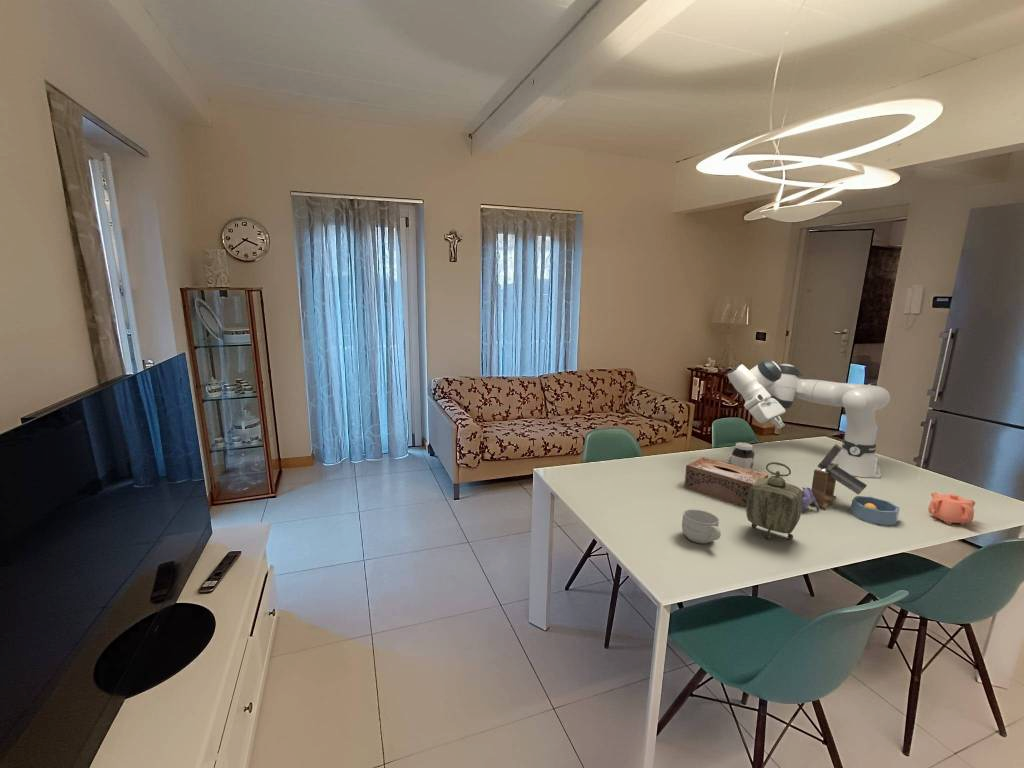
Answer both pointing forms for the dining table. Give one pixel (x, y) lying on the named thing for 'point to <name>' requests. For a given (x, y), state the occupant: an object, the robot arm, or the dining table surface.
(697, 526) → the teacup
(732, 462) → the spread jar
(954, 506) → the teapot
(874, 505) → the ball
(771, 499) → the tabletop clock
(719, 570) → the dining table surface
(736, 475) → the tissue box cover
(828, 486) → the stand
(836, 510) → the dining table surface
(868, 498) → the blue octagonal bowl
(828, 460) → the lever
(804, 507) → the flower
